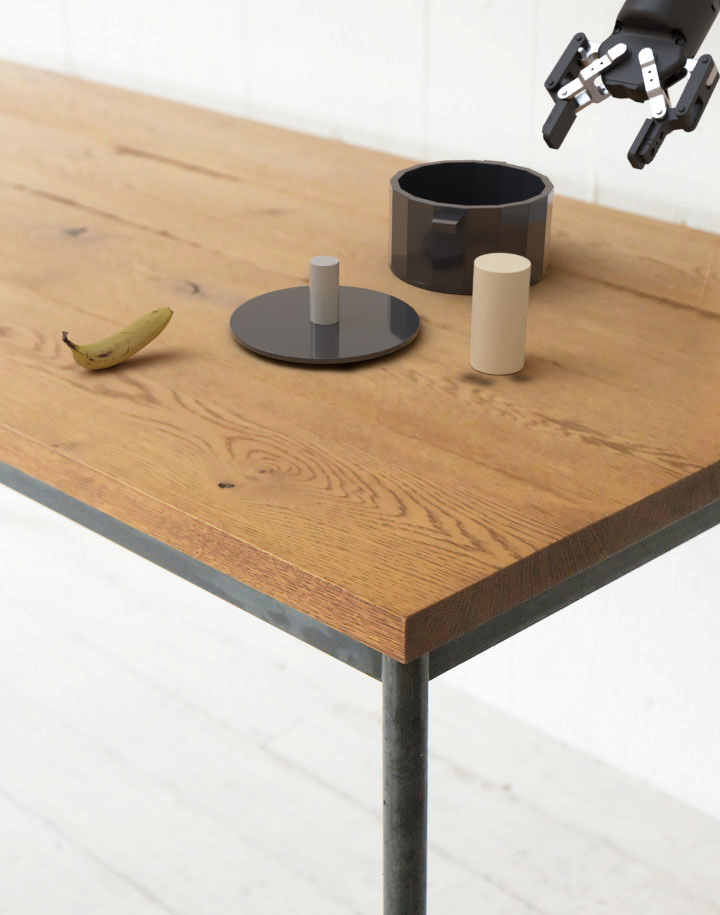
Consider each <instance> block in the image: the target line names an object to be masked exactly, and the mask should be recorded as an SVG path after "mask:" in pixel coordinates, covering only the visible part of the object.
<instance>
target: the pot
mask: <svg viewBox="0 0 720 915" xmlns="http://www.w3.org/2000/svg"><path fill="white" fill-rule="evenodd" d="M388 182H389V184H388V185H389V187H388V246H387V247H388V248H387V251H388V252H387V258H388V262H389V263H388V264H389V269H390V271H391V272H392V274H393V275H394V276H395V277H396V278H398V279H399V280H400V281H403V282H404V283H407V284H409V285H411V286H414V287H418V288H420V289H424V290H428V291H432V292H438V293H445V294H451V295H452V294H453V295H468V296H473V277H474V261H475V259H476V258H478V257H479V256H482V255H485V254H491V253H509V254H515V255H519V256H522V257H524V258H526V259H528V260H529V261H530V262H531V272H530V286H532V285H534V284H536V283H539V281H541V280H542V279H543V278H544V276H545V275H546V273H547V267H548V265H549V260H550V246H551V234H552V233H551V232H552V218H553V206H554V193H555V185H554V184H553V182H552V180H550V178H549V176H547V175H546V174H543V173H541V172H538V171H536V170H535V169H532V168H530V167H525V166H520V165H517V164H516V165H515V164H513V163H508V162H506V161H501V160H500V161H499V160H490V159H483V160H481V159H480V160H479V159H450V160H449V159H445V160H438V161H431V162H430V161H429V162H424V163H417V164H415V165H412V166H409V167H406V168H403V169H400V170H398V171H397V172H396V173H395V174H393V176H392V177H391V178H389V181H388Z"/></svg>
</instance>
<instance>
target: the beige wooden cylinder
mask: <svg viewBox="0 0 720 915" xmlns="http://www.w3.org/2000/svg"><path fill="white" fill-rule="evenodd" d="M530 272H531V262H530V261H529V260H528V259H526V258H524V257H522V256H519V255H515V254H509V253H491V254H485V255H482V256H479V257H478V258H476V259H475V261H474V277H473V295H472V297H471V299H472V301H471V321H470V323H471V325H470V343H469V365H470V367H471V368H473V369H474V371H475V370H476V371H478V372H480V373H482V374H487V375H494V376H495V375H496V376H503V375H511V374H515V373H518V372H519V371H521V370H522V369H523V368H524V367H525V357H526V344H527V343H526V342H527V327H528V315H529V314H528V313H529V299H530V286H531V285H530Z"/></svg>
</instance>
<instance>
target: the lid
mask: <svg viewBox="0 0 720 915" xmlns="http://www.w3.org/2000/svg"><path fill="white" fill-rule="evenodd" d="M308 266H309V268H308V272H309V273H308V274H309V275H308V276H309V277H308V278H309V280H308V281H309V285H302V286H294V287H287V288H281V289H276V290H272V291H269V292H265V293H262V294H260V295H257V296H255V297H253V298H250V299H248V300H246V301H245V302H243V303H241V304H240V305H238V306H237V307H236V309H234V310H233V312H232V313H231V315H230V318H229V324H228V325H229V331H230V332H229V333H230V334H231V335H232V336H231V337H232V338H233V339H234V340H235V341H236V342H237V343H238V344H239V345H241V346H242V347H244V348H245V349H247V350H249V351H251V352H253V353H255V354H259V355H262V356H264V357H268V358H271V359H276V360H280V361H284V362H292V363H301V364H314V365H315V364H316V365H333V364H334V365H335V364H347V363H356V362H363V361H368V360H373V359H376V358H380V357H384V356H387V355H389V354H392V353H394V352H397V351H399V350H401V349H402V348H404V347H406V346H407V345H409V344H410V343H412V341H414V339H415V338H416V337H417V335H418V333H419V331H420V326H421V325H420V324H421V321H420V317H419V314H418V312H417V310H416V309H414V308H413V306H411V305H410V304H409V303H407V302H405V301H404V300H402V299H400V298H398V297H396V296H393V295H391V294H389V293H385V292H381V291H379V290H374V289H370V288H365V287H364V288H363V287H357V286H349V285H340V259H339V258H338V257H336V256H333V255H316V256H313V257H310V259H309V260H308Z"/></svg>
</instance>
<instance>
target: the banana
mask: <svg viewBox="0 0 720 915" xmlns="http://www.w3.org/2000/svg"><path fill="white" fill-rule="evenodd" d="M173 315H174V311H173V310H172V309H171V308H170V307H160V308H156V309H154V310H151V311H149V312H147V313H146V314H144V315H141V316H140V317H138V318H137V319H135V320H134V321H132V322H131V323H129V324H128V325H126V326H125V327H124V328H122V329H120V330H119V331H117V332H115V333H113V334H112V335H109V336H108V337H105V338H103V339H101V340H99V341H96V342H93V343H89V344H76V343H74V342H73V341H71V340H70V339H68V334H69V331H64V330H63V331H61V333H62V338H61V341H62V342H63V343H65V344H66V346H67V347H68V348H69V349H70V351H71V352H72V355H73V360H74V362H75V363H76V364H77V365H78V366H79V367H81V368H83V369H87V370H95V371H97V370H103V369H107V368H111V367H114V366H116V365H118V364H121V363H122V362H124V361H126V360H128V359H129V358H131V357H132V356H134V355H136V354H137V353H138V352H140V351H141V350H142V349H144V348H145V347H147V346H148V345H149V344H150V343H152V342H153V341H154V340H156V338H158V336H160V335H161V333H163V331H164V330H165V329H166V327H167V326H168V325H169V323H170V321H171V319H172V317H173Z"/></svg>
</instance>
